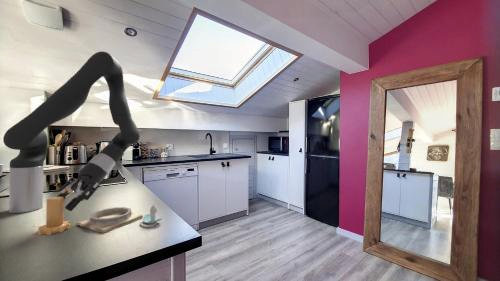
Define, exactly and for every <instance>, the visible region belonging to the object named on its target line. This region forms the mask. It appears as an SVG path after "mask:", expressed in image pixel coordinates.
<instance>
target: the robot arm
mask: <svg viewBox="0 0 500 281" xmlns="http://www.w3.org/2000/svg"><path fill="white" fill-rule="evenodd" d="M102 77H103V78H104V79H105V83H107V88H108V90H109V91H108V92H109V94H108V95H109V96H108V97H109V98H108V107H109V112H110V114H111V120H112V122H113V124H115V125H116V126H118V128H119V130H120V131H119V132H117V134H115V135H114V137H113V138H112V139H111V140H110V142H109V143H108V144H107V145H106V146H105V147H104V148H102V150H100V151H99V153H97V154H96V155H94V157H92V158H91V159H90V160H89V161H88V162H87V163H86V164H85V165H84V166H83V167H82V168H81V169H80V170H79V171H78V175H79V177H77V178H74V177H73V176H72V177H70V179H69V180H67V181H66V182H65V183H64V184H63V185H62V186H60V188H59V189H58V190H57V192H58V195H57V196H56V197H64V200H66V198H68V197H69V196H71V195H75V197H73V198H72V199H71V200H70V201H69V202H68V203H67V204H66V206H65V205H64V209H66V210H67V211H70V212H72V211H73V210H74V209H76V208H77V207H78V205H79V204H80V202H84V201H89V199H90V198H91V197H92V196H93V194H94V193H95V192H96V191H97V190H98V189H99V187H100V186H101V185H100V183H101V182H102V181H103V180H104V179H105V178H106V176H107V175H108V174H109V173H110V172H111V171H112V170H113V169H114V167H115V166H116V165H117V163H118V162H119V161H120V160H121V159H122V158H123V156H124V155H125V152H126V151H127V150H128V148H130V147H131V146H132V145H134V144H137V143H138V142H139V140H140V135H141V134H140V132H139V129H138V128H139V127H137V125H136V123H135V121H134V120H133V118H132V114H131V110H130V108H129V103H128V99H127V96H126V95H127V94H126V90H125V82H124V72H123V67H122V64H121V62H119V61H118V60H117V58H115V57H114V56H113V55H111V54H110V53H109V52H107V51H97V52H95V53H94V54H92V55H91V56H90V57H89V58H88V59H87V61H85V63H83V65H82V66H81V67H80V68H79V70H78V71H77V72H76V73H74V74H73V75H72V77H70V78H69V79H68V80H67V81H66V82H65V83H63V84H62V85H61V86H60V87H59V88H58V89H56V90H55V91H54V92H53V93H52V94H51V95H50V96H49V97H48V98H47V99H46V100H44V101H43V102H42V103H41V104H40V105H39V106H37V107H36V108H35V109H34V110H32V112H30V113H29V114H28V115H27V116H26V117H24V118H22V119H21V120H20V121H18V122H17V123H15V124H14V125H12V126H11V127H10V128H8V129H7V131H6V132H5V133H4V135H3V139H2V141H3V144H4V145H5V146H6V147H7V148H8V149H10V150H15V151H19V152H18V155H17V156H15V157H14V158H12V159H10V161H9V187H8V188H9V192H8V194H9V195H8V213H9V214H10V213H11V214H22V213H28V212H33V211H36V210H40V209H42V208H43V206H44V205H43V204H44V203H43V202H44V163H45V160H46V158H47V153H48V136H47V133H46V131H45V130H46V129H47V128H48V127H50V126H51V125H53V124H55V123H57V122H60V121H62V120H63V119H66V118H67V117H69V116H71V115H72V114H74V113H75V112H77V110H79V108H81V106H83V105H84V104H85V103H86V100H87V99H88V96H89V93H90V90H91V89H92V87H93V86H94V84H95V83H96V82H98V81H99V80H100V79H101V78H102Z"/></svg>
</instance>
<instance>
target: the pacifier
mask: <svg viewBox="0 0 500 281" xmlns="http://www.w3.org/2000/svg"><path fill="white" fill-rule="evenodd" d="M149 210H150V211H149V213H148V214H146V215H144V216H143V218H142V221H141V222H140V223H139V225H140V226H141V227H143V228H152V227H155V226H156V224H157V222H160V221H162V220H163V218H158V219H157V216H156V213H157V212H158V207H157V206H156V205H151V207H150V208H149Z"/></svg>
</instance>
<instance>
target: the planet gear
mask: <svg viewBox="0 0 500 281" xmlns="http://www.w3.org/2000/svg"><path fill="white" fill-rule="evenodd" d="M64 204H65V199H64V197H57V196H53V197H50V198H47V199H46V213H45V214H46V218H45V219H46V221H45V222H46V223H45V224H44V225H42V226H39V227H38V230H37V231H38V233H37V234H38V236H40V235H46V236H49V235H50V236H51V235H52V234H53V235H54V234H57V233H62V232H64V231H66V230H67V229H71V221H70V220H67V221H65V220H64V218H65V217H64V213H65V210H64V209H65V205H64ZM65 229H66V230H65Z"/></svg>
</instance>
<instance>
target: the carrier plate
mask: <svg viewBox="0 0 500 281" xmlns="http://www.w3.org/2000/svg"><path fill="white" fill-rule="evenodd" d="M143 217H144V216H143V214H138V213H136V212H135V213H134V212H132V210H131V208H129V207H124V206H122V207H121V206H120V207H119V206H118V207H110V208H109V207H108V208H103V209H101V210H96V211H95V212H93V213H91V214H90V216H89V218H85V219H82V220H79V221H77V222H76V226H78V225H80V226H79V227H82V226H83V227H82V228H85V227H86V229H88V230H92V231H95V232H98V233H102V234H105V233H108V232H110V231H113V230H115V229H118V228H120V227H123V226H125V225H129V224H131V223H133V222H136V221H139V220H141V219H143Z"/></svg>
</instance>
